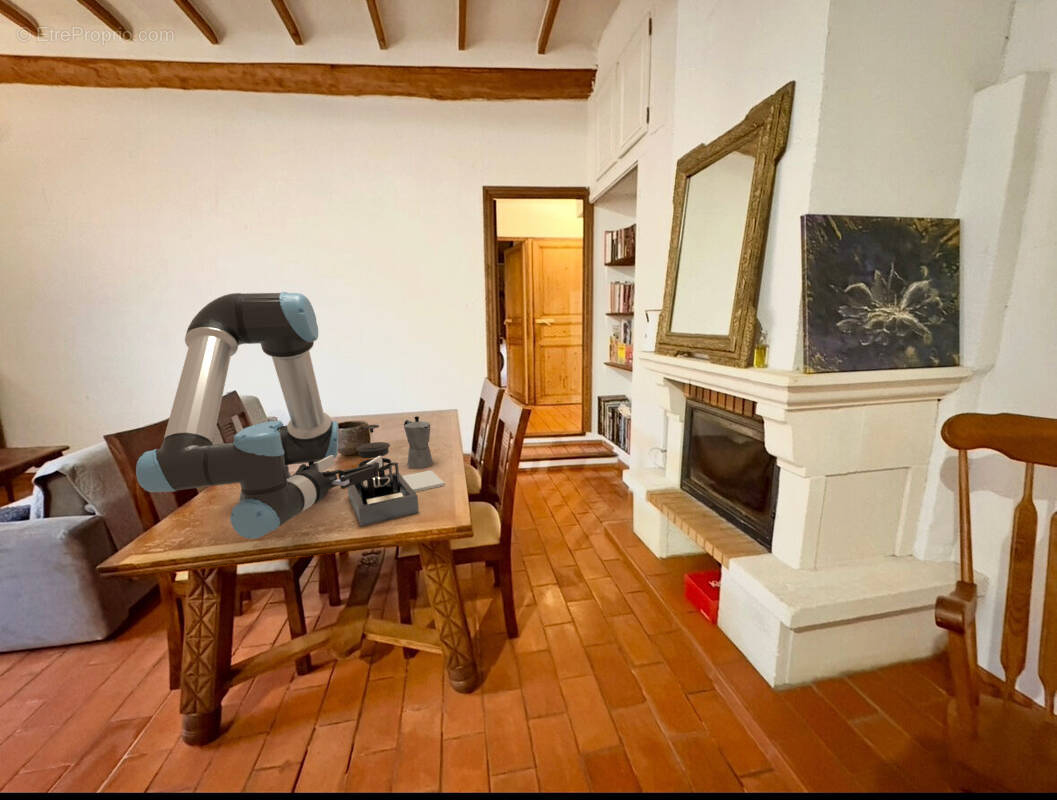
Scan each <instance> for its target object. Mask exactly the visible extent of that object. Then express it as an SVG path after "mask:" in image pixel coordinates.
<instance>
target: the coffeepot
mask: <svg viewBox="0 0 1057 800" xmlns="http://www.w3.org/2000/svg"><path fill="white" fill-rule="evenodd" d="M403 427H404V431H405V435H406V439H407V442H408V445H409V448H408V454H407V455H408V456H407V466H409V467H408V468H409V469H413V468H417V469H418V468H420V469H425V467H426V468H428V466H429V467H431V466H433V464H434V462H433V461H434V460H433V458H432V454H431V449H430V446H429V443H430V437H431V436H430V435H431V423H430V422H429V421H420V417H419V416H414V421H412V420H408V419H406V420H405V421H404V423H403ZM430 465H431V466H430ZM418 470H419V469H418Z"/></svg>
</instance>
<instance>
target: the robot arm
mask: <svg viewBox="0 0 1057 800" xmlns="http://www.w3.org/2000/svg"><path fill="white" fill-rule="evenodd" d="M315 313H316V312H315V311H314V307H313V305H312V303H311V300H309V299H308V297H307V296H305V295H304V294H302V293H298V292H297V293H295V292H287V291H282V292H264V293H263V292H255V293H253V292H252V293H249V292H247V293H241V292H239V293H237V292H235V293H234V292H233V293H228V294H225V295H222V296H219V297H217V298H215V299H213V300H211V301H210V302H208V303H207V304H206V305H205V306H203V307H202V308H201V309H200V310H199V311H198V313H197V314H196V315H195V316H194V317H193V318H192V320H191V322H190V323H189V325H188V326H187V330H186V333H185V336H184V343H185V345H186V347H187V348H188V349H187V352H186V356H185V359H184V363H183V367H182V370H181V374H180V378H179V381H178V386H177V389H176V393H175V396H174V400H173V404H172V408H171V411H170V415H169V417H168V422H167V426H166V429H165V431H164V432H165V433H164V436H163V437H164V438H163V441H162V443H161V446H160V448H155V449H153V450H148V451H145V452H143V453H142V455H141V456H140V457H138V460H137V462H136V466H135V474H136V479H137V483H138V484H139V486H140V487H141V488H143V490H144V491H146V492H149V493H166V492H178V491H182V490H188V489H196V488H204V487H214V486H224V485H233V484H240V485H239V486H240V489H241V490H240V495H239V499H238V500H239V502H238V503H237V504H235V505H234V506H233V507H232V511H231V513H230V517H229V521H230V525H231V526H232V528H233V530H234V531H235V532H236V533H237V534H238V535H239V536H240V537H243V538H245V539H248V540H255V539H259V538H260V539H261V538H262V537H264V536H265V535H267V534H269V533H271V532H273V531H276V530H277V529H278V528H279V527H280V526H282V525H283V524H286V523H287V522H288V521H290V520H292V519H293V518H294V517H297V516H299V514H300V513H301V514H302V512H304V511H305V510H307V509H309V508H311V507H312V506H314V505H316V504H318V502H320V501H322V500H323V499H324V498H325V497H326V496H327V495H328V492H329V491H330V489H331V490H332V489H333V488H336V487H339V486H340V489H341V490H345V489H348V487H349V486H351V485H354V484H357V483H360V482H363V481H366V480H368V479H372V478H374V477H377V476H379V472H378V469H379V468H380V467H382V466H383V465H382V458H383V456H378V457H376V458H375V459H374V458H372V459H373V460H371V461H370V462H368V463H366V465H364V466H362V467H358V466H357V467H354V468H349V469H346V470H342V469H336V470H331V471H330V470H328V469H330V468H332V467H334V466H335V459H336V458H337V456H338V451H339V421H338V422H337V421H335V420H332V418H331V417H330V415H329V414H327V413H326V412H324V409H323V406H322V400H321V396H320V392H319V388H318V384H317V380H316V374H315V371H314V366H313V361H312V358H311V352H310V350H311V349H313V347H314V346H315V345H314V343H315V342H316V341H317V340H318V339H319V326H318V323H317V317H316V314H315ZM246 344H249V345H251V344H254V345H255V344H259V345H260V346H261V349H262V352H263V353H264V354H265V355H266V356H269V357H271V358H272V362H273V365H274V368H275V369H274V370H275V371H276V375H277V379H278V382H279V385H280V389H281V392H282V395H283V398H284V401H285V406H286V408H287V412H288V415H289V418H290V420H289V421H288V423H287V425H284V422H282V421H281V420H270V421H266V422H264V421H263V422H261V423H257V424H254V425H249V426H247V427H245V428H243V429H241V430H240V431H238V432H237V433H235V434H234V435H233V436H234V437H233V442H227V443H218V444H213V443H214V438H215V434H216V428H217V424H218V419H219V415H220V414H219V413H220V409H221V405H222V400H223V399H222V398H223V395H224V391H225V390H224V389H225V386H226V380H227V376H228V371H229V366H230V361H231V357H232V356H234V355H235V354H236V353H237V352H238V349H239V346H241V345H246ZM306 464H308V465H306ZM290 465H291V466H292V465H299V466H298V467H297V470H295V471H296V472H295V473H294V474H292V475H291V473H290V469H289V466H290ZM326 470H327V471H326ZM337 475H338V477H337Z"/></svg>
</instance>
